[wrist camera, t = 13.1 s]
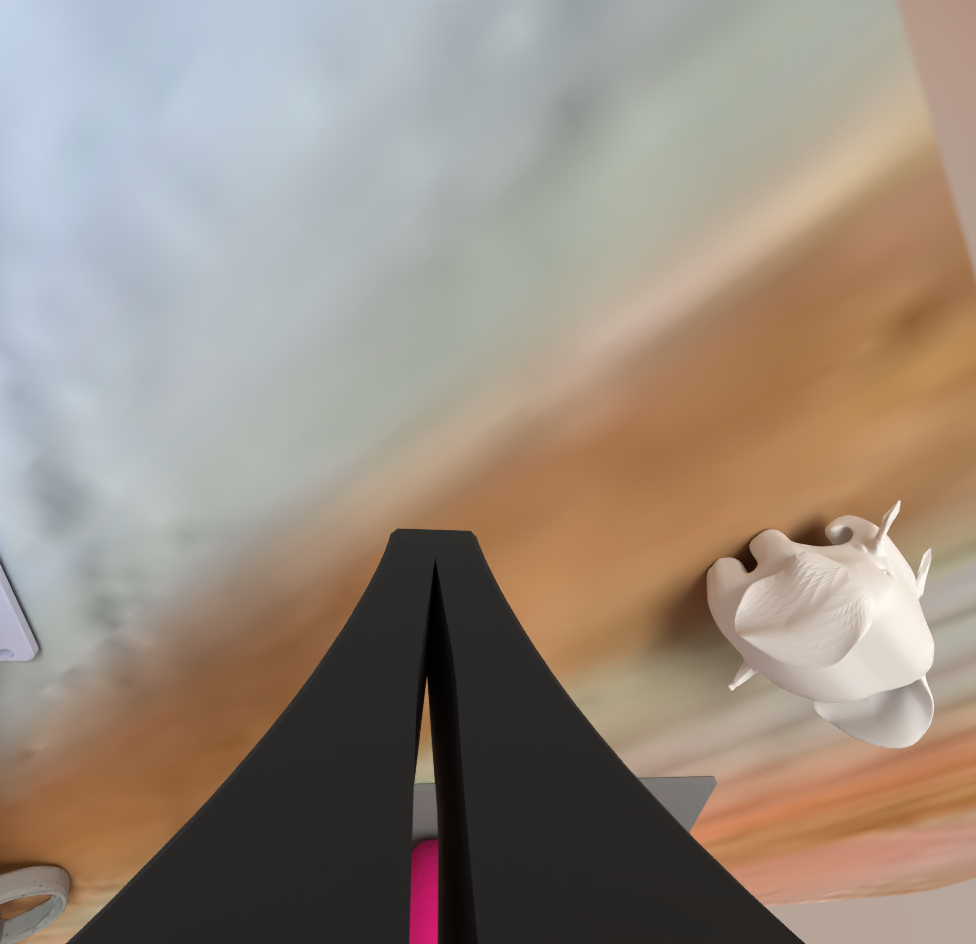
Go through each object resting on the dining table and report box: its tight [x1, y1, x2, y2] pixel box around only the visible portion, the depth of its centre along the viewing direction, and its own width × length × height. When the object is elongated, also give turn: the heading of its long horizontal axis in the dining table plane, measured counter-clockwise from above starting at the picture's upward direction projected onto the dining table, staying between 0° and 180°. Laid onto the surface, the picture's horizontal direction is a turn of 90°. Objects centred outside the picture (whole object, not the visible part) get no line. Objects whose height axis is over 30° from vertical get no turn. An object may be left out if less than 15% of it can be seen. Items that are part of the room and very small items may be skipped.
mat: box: [412, 777, 717, 851], centre depth 35 cm, size 20×14×1 cm
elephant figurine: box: [707, 500, 934, 748], centre depth 21 cm, size 8×10×7 cm
